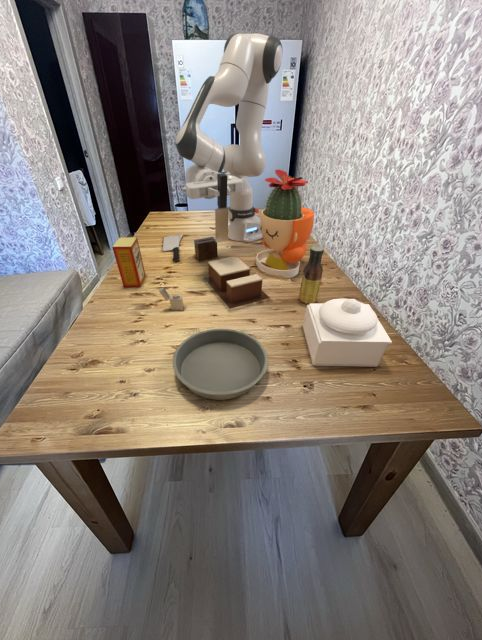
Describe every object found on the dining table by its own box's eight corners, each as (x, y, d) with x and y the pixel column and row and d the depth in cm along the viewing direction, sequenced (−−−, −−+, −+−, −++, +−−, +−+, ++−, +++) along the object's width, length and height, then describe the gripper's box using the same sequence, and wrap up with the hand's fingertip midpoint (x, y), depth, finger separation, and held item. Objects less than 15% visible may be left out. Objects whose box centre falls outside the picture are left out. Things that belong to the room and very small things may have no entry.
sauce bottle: (304, 295, 104) (315, 241, 91) (319, 302, 101) (332, 247, 87) (294, 302, 101) (303, 247, 87) (309, 309, 97) (321, 253, 84)
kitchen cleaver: (163, 235, 148) (182, 232, 148) (164, 238, 149) (183, 235, 149) (159, 261, 125) (181, 257, 125) (160, 264, 126) (182, 261, 126)
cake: (208, 277, 113) (207, 261, 109) (235, 271, 117) (235, 256, 112) (220, 291, 105) (220, 274, 101) (249, 284, 109) (250, 268, 104)
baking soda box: (129, 275, 117) (119, 236, 106) (145, 275, 117) (136, 236, 106) (123, 287, 110) (111, 246, 99) (140, 286, 110) (130, 245, 99)
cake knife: (214, 240, 107) (213, 174, 90) (226, 238, 108) (227, 172, 92) (217, 244, 105) (216, 177, 89) (229, 241, 107) (231, 175, 90)
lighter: (183, 307, 99) (181, 286, 94) (183, 309, 98) (180, 289, 92) (163, 307, 99) (159, 286, 94) (162, 310, 98) (158, 289, 92)
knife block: (213, 253, 133) (212, 236, 127) (217, 258, 129) (217, 240, 124) (195, 257, 130) (193, 239, 124) (199, 261, 126) (197, 243, 121)
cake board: (203, 279, 114) (203, 277, 113) (238, 271, 119) (238, 269, 118) (229, 311, 97) (229, 308, 96) (270, 300, 102) (270, 297, 101)
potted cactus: (272, 282, 112) (283, 180, 89) (247, 260, 127) (250, 168, 104) (317, 271, 118) (338, 174, 95) (288, 252, 134) (299, 164, 110)
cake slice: (226, 297, 102) (226, 280, 97) (255, 290, 105) (256, 273, 101) (231, 303, 99) (231, 286, 94) (261, 295, 103) (262, 278, 98)
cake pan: (191, 420, 64) (189, 408, 61) (164, 353, 81) (162, 341, 78) (284, 386, 71) (286, 374, 68) (242, 331, 88) (242, 320, 85)
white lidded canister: (302, 326, 90) (311, 281, 79) (359, 327, 90) (376, 282, 79) (312, 365, 77) (325, 317, 66) (379, 367, 76) (403, 318, 66)
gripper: (179, 177, 97) (192, 186, 88) (232, 171, 104) (250, 178, 95) (181, 197, 102) (194, 208, 92) (232, 190, 108) (250, 199, 99)
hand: (223, 193), depth 94 cm, fingers closed on cake knife, 2 cm apart
